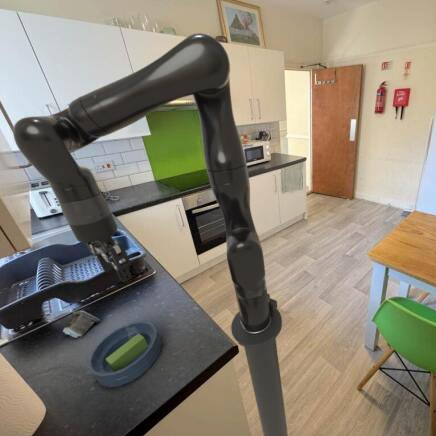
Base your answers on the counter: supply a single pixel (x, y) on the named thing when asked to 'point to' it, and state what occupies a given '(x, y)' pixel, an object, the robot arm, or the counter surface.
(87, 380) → the counter surface
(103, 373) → the bowl
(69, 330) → the crumpled grey bag
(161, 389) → the counter surface
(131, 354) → the bar
